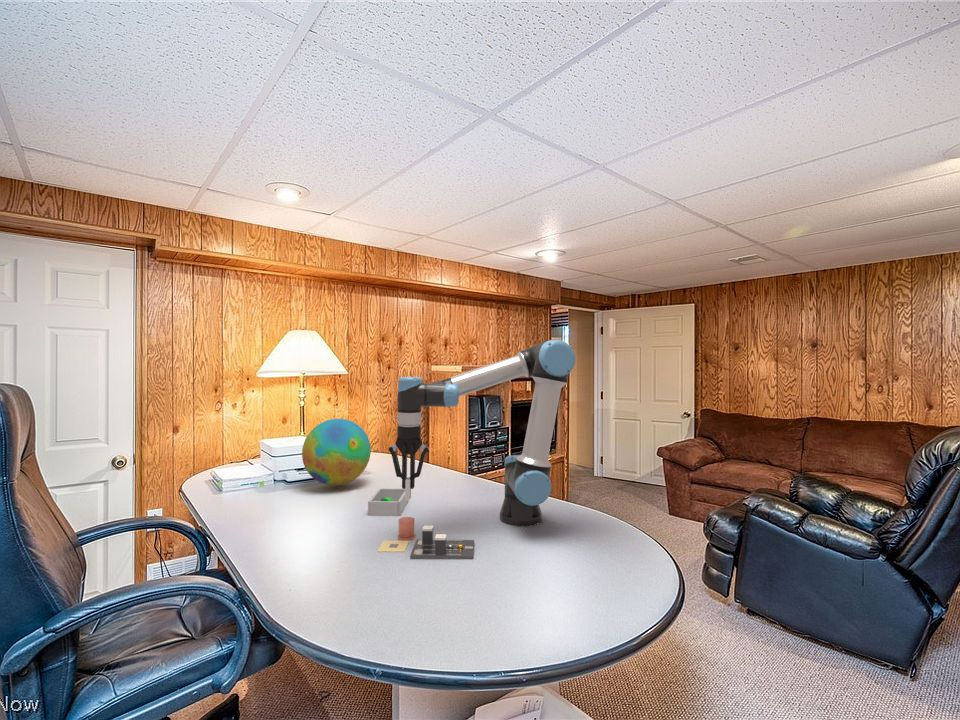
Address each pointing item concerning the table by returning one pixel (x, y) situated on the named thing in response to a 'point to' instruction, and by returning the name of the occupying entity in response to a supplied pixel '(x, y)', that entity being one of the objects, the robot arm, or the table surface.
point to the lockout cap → (406, 528)
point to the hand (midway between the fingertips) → (408, 498)
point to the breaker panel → (453, 550)
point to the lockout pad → (393, 546)
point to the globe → (336, 452)
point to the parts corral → (387, 502)
